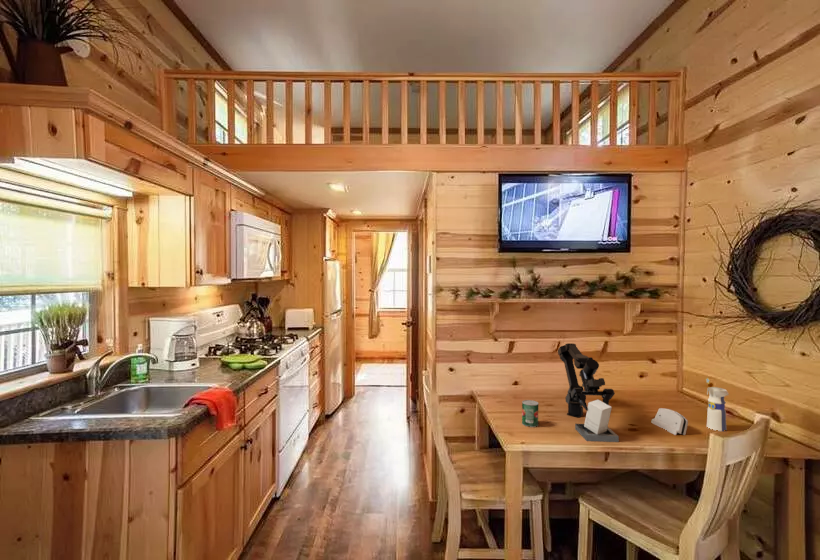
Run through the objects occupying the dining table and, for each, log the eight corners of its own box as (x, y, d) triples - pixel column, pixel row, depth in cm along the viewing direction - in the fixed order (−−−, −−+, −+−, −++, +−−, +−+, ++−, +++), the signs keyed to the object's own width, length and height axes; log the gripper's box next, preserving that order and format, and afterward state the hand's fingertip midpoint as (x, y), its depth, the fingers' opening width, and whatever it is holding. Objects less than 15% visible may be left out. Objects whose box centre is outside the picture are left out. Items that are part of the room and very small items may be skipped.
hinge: (650, 422, 197) (656, 403, 197) (658, 425, 197) (665, 406, 197) (675, 435, 180) (682, 415, 180) (684, 438, 181) (691, 418, 181)
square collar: (575, 428, 187) (575, 423, 187) (604, 429, 186) (604, 424, 186) (586, 440, 173) (586, 435, 173) (618, 442, 172) (618, 436, 172)
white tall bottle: (719, 432, 184) (720, 380, 184) (701, 426, 192) (702, 376, 192) (732, 430, 186) (732, 379, 186) (713, 424, 194) (714, 374, 194)
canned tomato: (519, 421, 197) (519, 400, 197) (534, 421, 197) (534, 399, 197) (525, 427, 189) (525, 405, 189) (541, 427, 189) (541, 404, 189)
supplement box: (607, 431, 179) (612, 407, 176) (597, 435, 175) (602, 410, 172) (593, 422, 185) (598, 398, 182) (583, 426, 181) (588, 402, 178)
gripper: (573, 371, 184) (581, 401, 173) (613, 372, 183) (624, 402, 172) (567, 382, 192) (574, 412, 181) (605, 383, 191) (615, 413, 180)
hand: (597, 410), depth 179 cm, fingers closed on supplement box, 9 cm apart
